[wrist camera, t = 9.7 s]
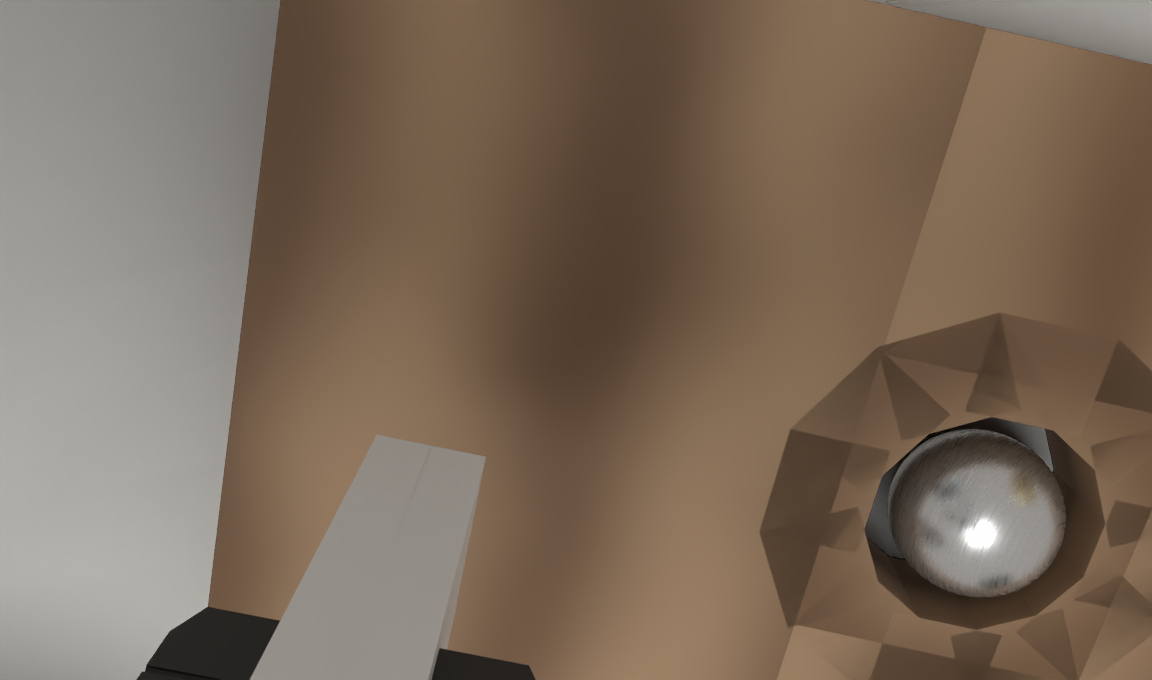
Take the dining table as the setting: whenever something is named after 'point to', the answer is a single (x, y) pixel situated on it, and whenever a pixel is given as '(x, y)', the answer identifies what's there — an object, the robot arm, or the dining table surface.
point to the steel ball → (976, 513)
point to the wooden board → (700, 323)
